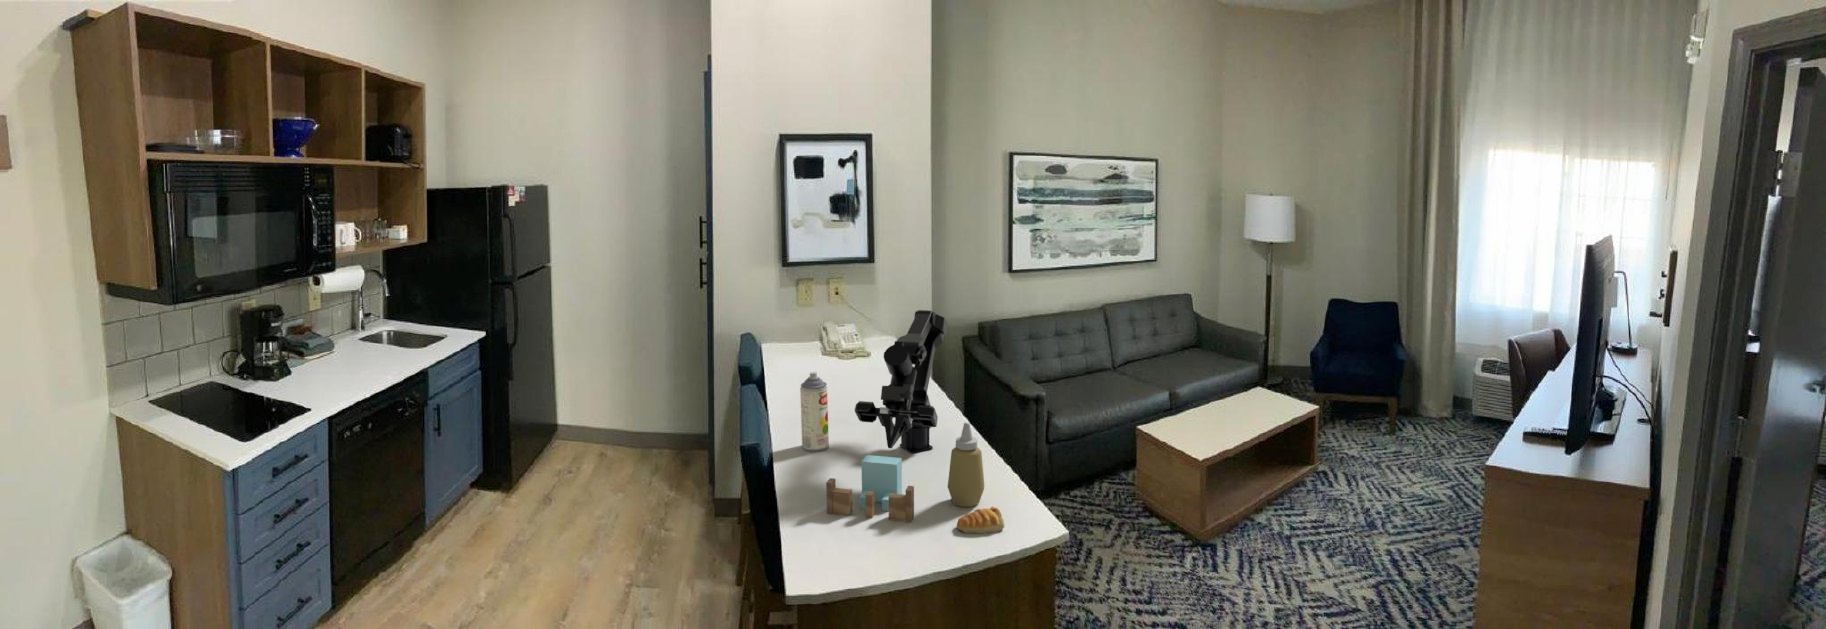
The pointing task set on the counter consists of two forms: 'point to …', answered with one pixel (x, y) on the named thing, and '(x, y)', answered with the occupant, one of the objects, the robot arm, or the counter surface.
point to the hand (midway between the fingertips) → (889, 447)
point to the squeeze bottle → (966, 470)
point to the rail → (870, 502)
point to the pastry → (981, 521)
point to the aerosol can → (814, 414)
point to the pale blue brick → (881, 478)
